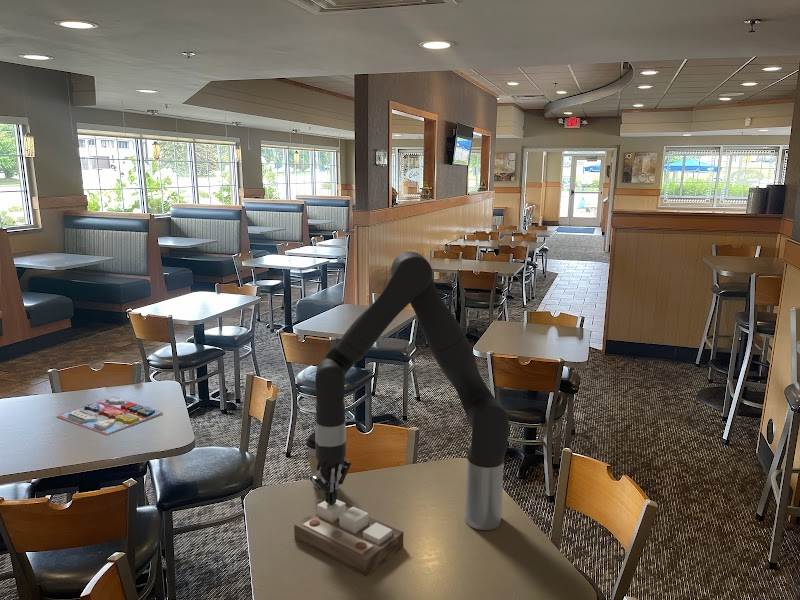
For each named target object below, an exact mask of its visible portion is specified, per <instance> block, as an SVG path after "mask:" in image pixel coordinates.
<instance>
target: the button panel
mask: <svg viewBox="0 0 800 600" xmlns="http://www.w3.org/2000/svg"><path fill="white" fill-rule="evenodd" d="M350 508H351V507H348V506H346V511H347V510H348V509H350ZM375 523H378V524H381V525H383V526H385V527H387V528H390V529H392V537H390V538H389V539H388V540H386V541H385V542H384V543H382V544H381V545H380V546H379V545H377V544H375V543H373V542H370V541H368V540H366V539H364V538H363V531H364V530H366V529H367V528H369V527H370V526H372V525H373V524H375ZM293 527H294V528H293V530H294V537H293V539H294V540H296V541H298V542H300V543H301V544H303V545H305V546H307V547H309V548H311V549H313V550H314V551H316V552H318V553H321V554H322V555H324V556H326V557H328V558H330V559H332V560H334V561H335V562H338V563H339V564H341V565H342V566H345V567H347V568H349V569H351V570H353V571H354V572H356V573H359V574H360V575H362V576H364V577H367V576H368V575H370V574H371V573H373V572H374V571H375V570H376V569H377V568H379V567H380V566H381V565H383V563H385V562H386V561H387V560H389V559H390V558H391V557H392V556H394V555H395V554H397V553H398V552H399V551H400V550H401V549H403V548H404V535H405V534H404V532H405V531H403V530H400V529H398V528H395V527H393V526H390V525H389V524H386V523H384V522H383V521H381V520H378V519H375V518H373V517H371V516H370V515H368V525H367V526H366V527H365V528H363V529H362V530H360V531H359V532H357V533H356V534H354V533H352V532H349V531H347V530H345V529H343V528H341V527H339V519H338V520H336V521H335V522H333V523H331V522H328V521H326V520H324V519H322V518H320V517H318V516H317V510H316V511H314V512H312V513H311V514H309V515H308V516H306V517H304V518H302V519H301V520H299V521H297V522H295V523H294V524H293Z"/></svg>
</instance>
